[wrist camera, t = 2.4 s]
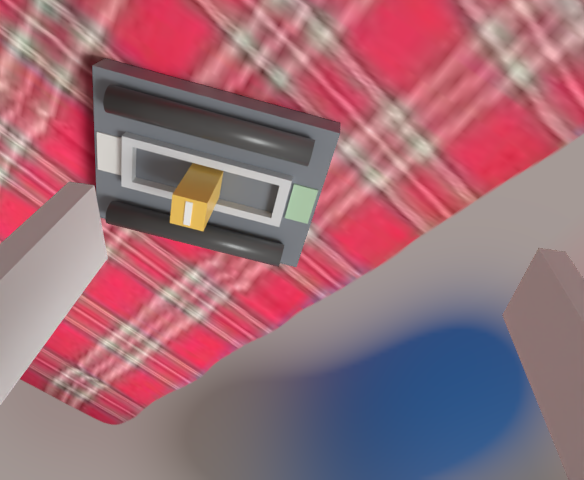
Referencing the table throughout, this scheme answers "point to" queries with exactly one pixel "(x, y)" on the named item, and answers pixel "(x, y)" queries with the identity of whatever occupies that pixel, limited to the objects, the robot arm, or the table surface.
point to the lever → (196, 197)
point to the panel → (207, 161)
